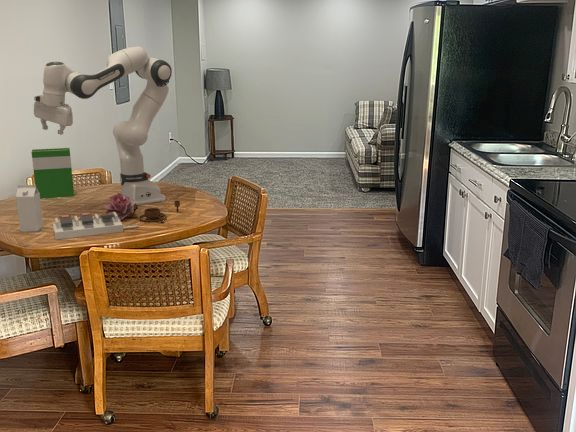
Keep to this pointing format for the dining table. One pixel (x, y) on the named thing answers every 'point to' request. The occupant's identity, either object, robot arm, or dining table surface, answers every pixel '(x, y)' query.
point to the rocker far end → (66, 220)
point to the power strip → (89, 227)
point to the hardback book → (53, 172)
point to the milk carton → (29, 208)
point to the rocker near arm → (106, 216)
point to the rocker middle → (86, 218)
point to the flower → (121, 206)
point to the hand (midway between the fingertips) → (52, 131)
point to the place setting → (155, 214)
